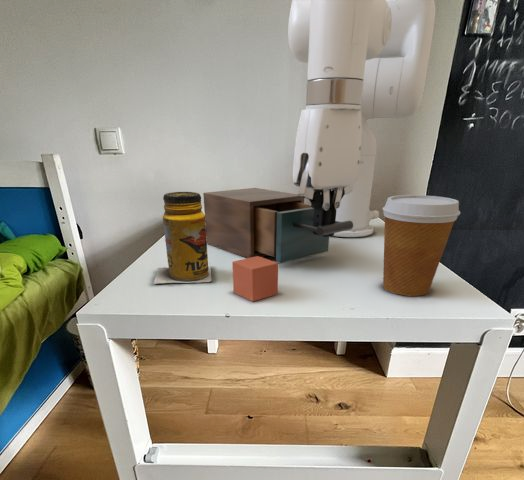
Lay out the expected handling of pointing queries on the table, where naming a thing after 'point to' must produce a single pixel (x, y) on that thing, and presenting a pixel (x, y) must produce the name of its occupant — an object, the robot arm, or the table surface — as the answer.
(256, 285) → the block
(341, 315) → the table surface
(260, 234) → the drawer
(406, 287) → the disposable coffee cup
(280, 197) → the cabinet
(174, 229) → the condiment
